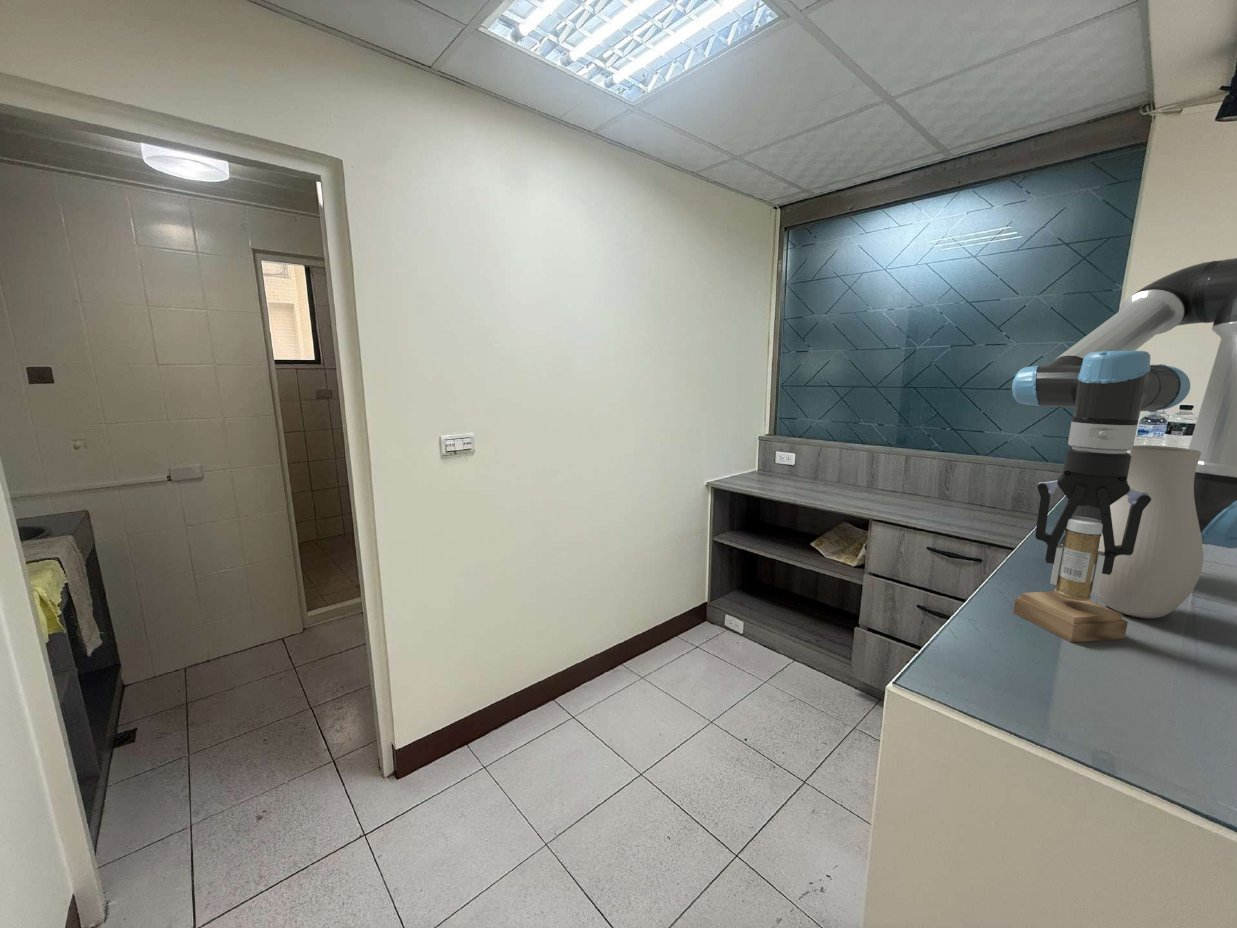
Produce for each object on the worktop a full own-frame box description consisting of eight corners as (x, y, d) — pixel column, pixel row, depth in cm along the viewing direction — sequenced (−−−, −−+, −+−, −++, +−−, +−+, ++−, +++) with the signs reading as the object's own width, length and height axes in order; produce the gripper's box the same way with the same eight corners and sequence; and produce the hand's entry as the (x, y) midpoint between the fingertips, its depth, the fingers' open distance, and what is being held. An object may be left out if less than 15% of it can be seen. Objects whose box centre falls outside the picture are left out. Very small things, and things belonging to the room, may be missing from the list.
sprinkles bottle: (1097, 600, 81) (1112, 522, 78) (1076, 603, 80) (1091, 524, 77) (1067, 588, 85) (1080, 514, 83) (1046, 591, 84) (1059, 516, 82)
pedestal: (1061, 609, 89) (1065, 589, 88) (1124, 638, 79) (1129, 615, 79) (1013, 612, 88) (1016, 591, 87) (1070, 642, 78) (1075, 619, 77)
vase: (1188, 613, 88) (1226, 449, 83) (1188, 639, 79) (1231, 457, 74) (1084, 588, 98) (1112, 440, 93) (1074, 609, 89) (1104, 447, 84)
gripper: (1026, 446, 81) (1006, 578, 85) (1184, 458, 70) (1151, 610, 74) (1029, 442, 87) (1010, 566, 91) (1176, 453, 75) (1146, 594, 79)
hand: (1073, 585), depth 82 cm, fingers closed on sprinkles bottle, 4 cm apart
